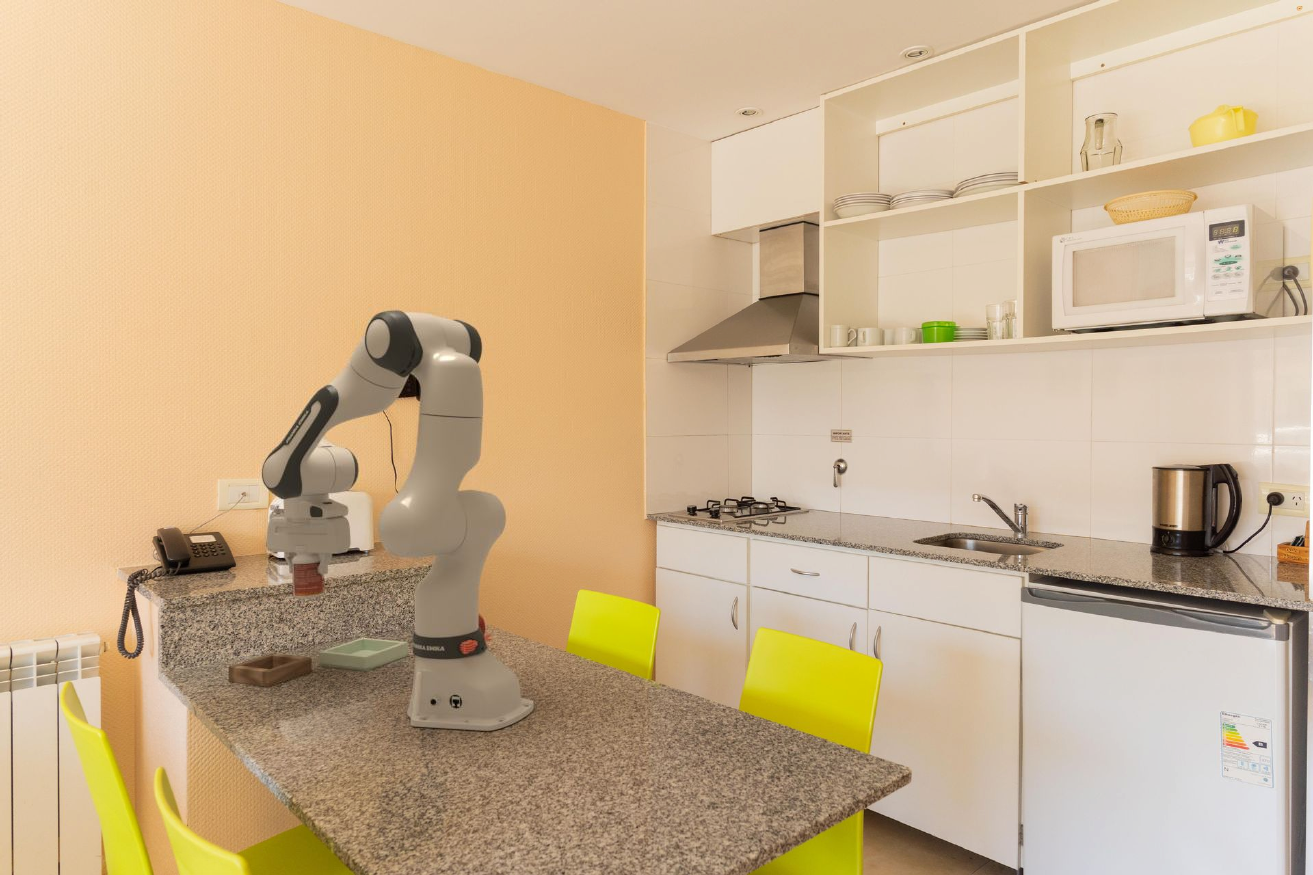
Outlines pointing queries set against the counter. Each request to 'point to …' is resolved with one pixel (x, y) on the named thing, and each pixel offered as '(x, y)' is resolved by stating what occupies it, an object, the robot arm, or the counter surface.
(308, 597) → the pill bottle
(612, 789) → the counter surface
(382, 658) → the tray
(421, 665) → the robot arm
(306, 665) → the collar
